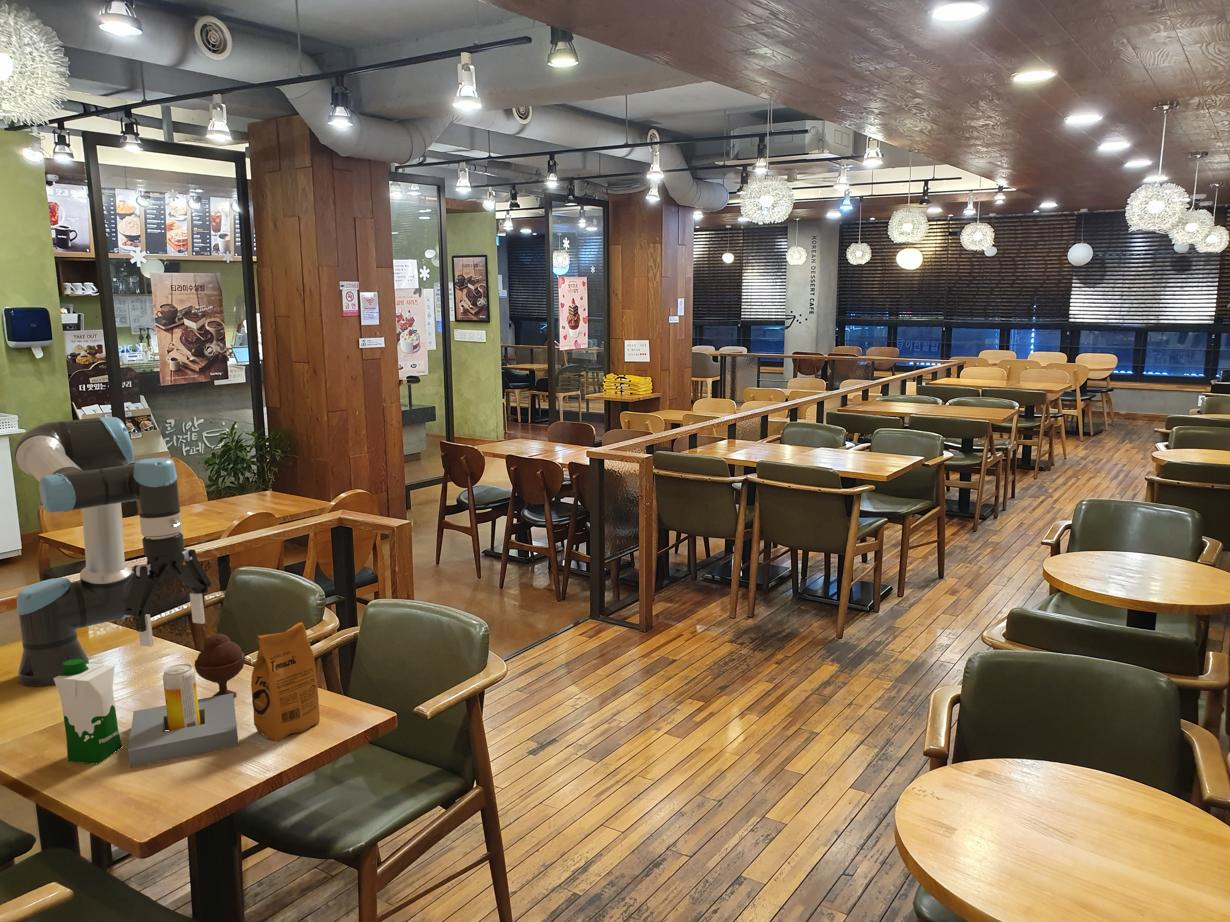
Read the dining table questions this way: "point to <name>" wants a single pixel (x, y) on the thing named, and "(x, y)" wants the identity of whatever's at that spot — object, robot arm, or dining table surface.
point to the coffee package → (284, 684)
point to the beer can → (181, 696)
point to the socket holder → (182, 732)
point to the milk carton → (88, 710)
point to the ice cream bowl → (220, 662)
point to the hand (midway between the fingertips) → (173, 633)
